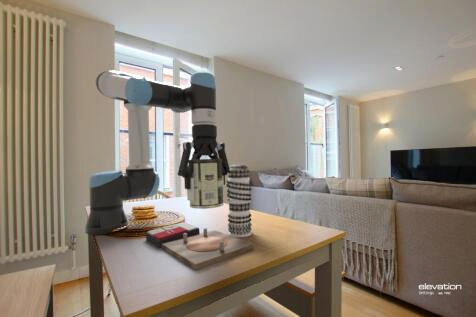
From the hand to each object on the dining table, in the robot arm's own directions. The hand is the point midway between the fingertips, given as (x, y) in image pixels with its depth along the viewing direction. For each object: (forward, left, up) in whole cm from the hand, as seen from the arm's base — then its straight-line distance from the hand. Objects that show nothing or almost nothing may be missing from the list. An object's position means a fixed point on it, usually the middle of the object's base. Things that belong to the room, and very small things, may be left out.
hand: (206, 198), depth 74 cm
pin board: (0, 0, -16) cm, 16 cm away
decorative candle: (-4, +17, -16) cm, 24 cm away
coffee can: (0, 0, -2) cm, 2 cm away
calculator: (-16, -3, -16) cm, 23 cm away
